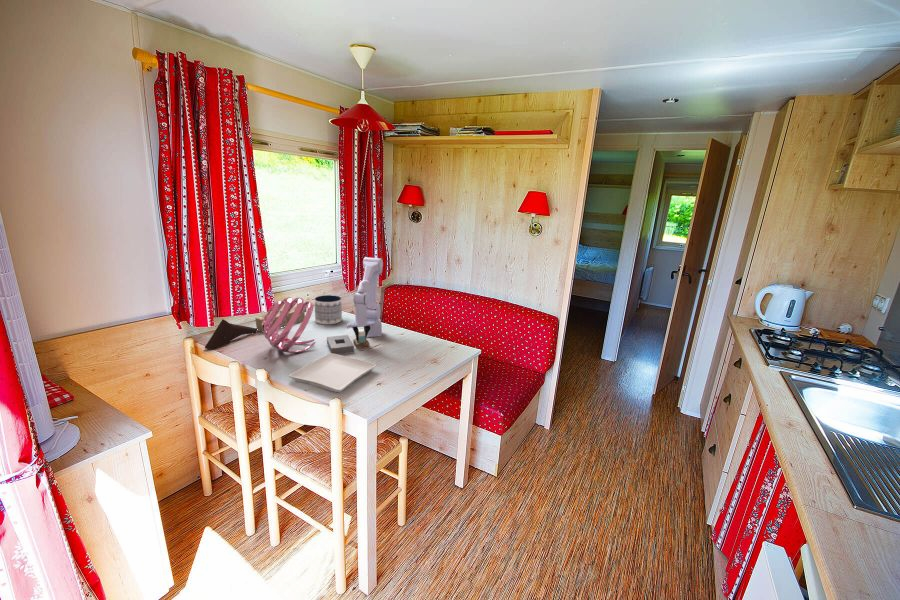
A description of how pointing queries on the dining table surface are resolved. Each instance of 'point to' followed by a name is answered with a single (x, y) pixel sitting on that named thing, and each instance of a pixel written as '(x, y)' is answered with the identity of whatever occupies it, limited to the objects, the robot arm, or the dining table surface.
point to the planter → (328, 309)
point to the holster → (227, 334)
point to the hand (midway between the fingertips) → (361, 339)
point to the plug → (361, 336)
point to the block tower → (260, 319)
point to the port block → (340, 344)
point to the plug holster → (361, 344)
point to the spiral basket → (275, 328)
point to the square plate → (333, 372)
